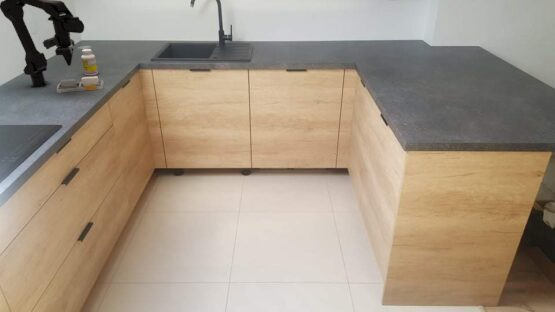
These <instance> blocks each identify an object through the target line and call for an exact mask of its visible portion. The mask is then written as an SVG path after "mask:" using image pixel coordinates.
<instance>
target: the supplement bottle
mask: <svg viewBox="0 0 555 312" xmlns="http://www.w3.org/2000/svg"><path fill="white" fill-rule="evenodd" d="M81 53H82V55H81V57H80V59H81V62H82V67H83V71H84V75H85V76H87V77H93V76H97V75H98V73H99V70H98V69H99V68H98V64H97V61H96V60H97V59H96V56H95V54H93V51H92V49H91V48H84V49H82V50H81Z"/></svg>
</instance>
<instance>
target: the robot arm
mask: <svg viewBox="0 0 555 312" xmlns="http://www.w3.org/2000/svg"><path fill="white" fill-rule="evenodd" d="M26 5H28V6H31V7H33V8H38V9H40V10H42V11H44V12H45V14H48V15H49V17H48V18H47V21H51V22H52V25H53V30H54V35H53V37H50V38H46V39H44V40H43V41H42V45H43V47H44V48H45V49H46V50H50V49H51V48H53V47H55V46H56V48H55V50H54V52H55V55H56V56H62V57H63V59H64V61H65V63H66V64H67V66H69V67H70V66H71V65H72V59H73V56H74V55H73V54H74V51H75V48H73V47H75V46H76V44H75V40H73V39H72V38H71V33H73V34H74V33H75V34H82V33H83V32H84V31H85V24H84V23H83V21H82V20H80V17H79V16H74V15H73V13H72V12H71V11H70V9H69V8H68V7H67V5H66V4H65V2H64V1H62V0H2V1H1V2H0V11H1V12H2V14H3V15H4V17H5V18H6V19H8V20H9V21H10V22H11V24H12V27H13V29H14V31H15V32H16V35H17V37H18V40H19V41H20V45H22V48H23V50H24V53H25V57H24V61H25V64H26V65H25V67H23V70H22V71H23V73H24V75H29V76H30V80H31V83H32V84H30V87H31V88H35V87H45V86H47V85H48V81H47V80H46V78H45V75H44V73H43V72H45V71H47V70H48V69H47V67H48V59H47V58H46V55H45V53H44V52H40V51H39V50H38V49H37V47H36V45H35V43H34V40H33V38H32V36H31V34H30V31H29V29H28V26H27V25H26V22H25V21H24V15H25V11H24V7H25V6H26ZM72 46H73V47H72Z"/></svg>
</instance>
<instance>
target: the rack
mask: <svg viewBox="0 0 555 312" xmlns="http://www.w3.org/2000/svg"><path fill="white" fill-rule="evenodd" d="M98 80H99V84H97V85H85V86H83V83H82V81H76V85H77V86H73V87H62V86H61V82H60V83H58V84H57V86H56V93H57V94H60V93H69V92H70V93H71V92H83V91H96V90H103V89H104V80H103V79H98Z"/></svg>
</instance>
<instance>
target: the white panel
mask: <svg viewBox="0 0 555 312" xmlns="http://www.w3.org/2000/svg"><path fill="white" fill-rule="evenodd" d="M99 80H100V79H99V77H98V76H97V75H93V76H84V77H83V76H82V77H81V82H82V83H83V86H85V85H97V84H99Z"/></svg>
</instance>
